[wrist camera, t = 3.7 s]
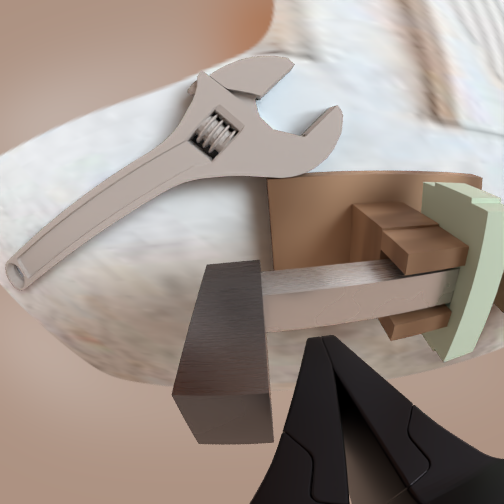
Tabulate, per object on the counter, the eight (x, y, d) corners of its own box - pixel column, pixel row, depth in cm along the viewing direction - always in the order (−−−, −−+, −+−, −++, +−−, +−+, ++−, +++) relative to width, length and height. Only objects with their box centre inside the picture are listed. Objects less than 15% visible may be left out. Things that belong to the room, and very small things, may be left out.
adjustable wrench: (28, 286, 17) (16, 297, 16) (-5, 219, 15) (-19, 227, 13) (341, 155, 14) (352, 159, 12) (301, 46, 11) (307, 36, 10)
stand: (471, 173, 14) (560, 211, 6) (457, 267, 16) (523, 330, 9) (266, 175, 14) (284, 226, 7) (275, 292, 17) (290, 400, 10)
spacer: (452, 178, 11) (517, 206, 6) (432, 304, 14) (470, 354, 10) (423, 177, 11) (489, 206, 7) (405, 309, 14) (442, 365, 10)
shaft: (455, 240, 10) (542, 312, 5) (445, 285, 11) (515, 365, 6) (206, 264, 10) (171, 394, 5) (216, 315, 11) (198, 443, 6)
